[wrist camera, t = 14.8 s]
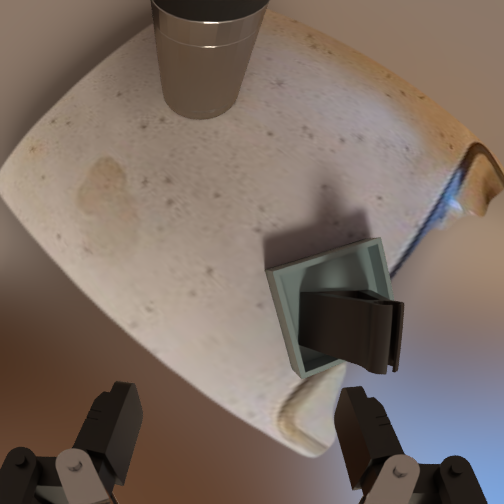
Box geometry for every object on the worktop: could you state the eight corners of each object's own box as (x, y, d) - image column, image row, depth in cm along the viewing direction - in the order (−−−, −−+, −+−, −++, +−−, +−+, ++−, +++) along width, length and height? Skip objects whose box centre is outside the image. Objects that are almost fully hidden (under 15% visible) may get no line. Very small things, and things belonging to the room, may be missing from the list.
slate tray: (264, 269, 35) (272, 271, 31) (365, 238, 37) (380, 237, 34) (292, 368, 35) (301, 379, 32) (384, 330, 38) (400, 335, 34)
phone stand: (369, 289, 36) (435, 301, 24) (366, 338, 36) (428, 365, 24) (299, 291, 35) (350, 308, 23) (297, 343, 34) (344, 381, 23)
